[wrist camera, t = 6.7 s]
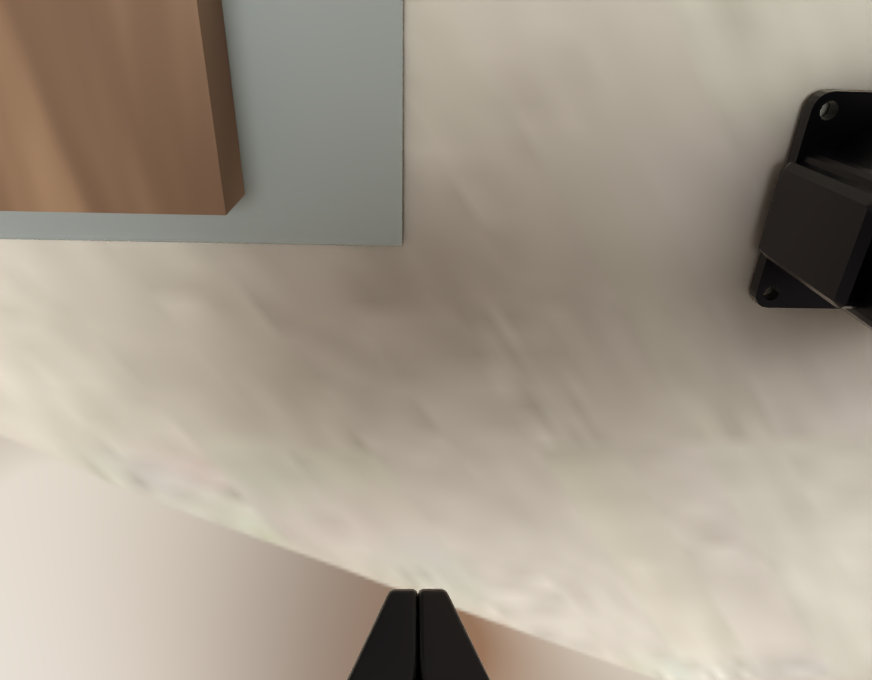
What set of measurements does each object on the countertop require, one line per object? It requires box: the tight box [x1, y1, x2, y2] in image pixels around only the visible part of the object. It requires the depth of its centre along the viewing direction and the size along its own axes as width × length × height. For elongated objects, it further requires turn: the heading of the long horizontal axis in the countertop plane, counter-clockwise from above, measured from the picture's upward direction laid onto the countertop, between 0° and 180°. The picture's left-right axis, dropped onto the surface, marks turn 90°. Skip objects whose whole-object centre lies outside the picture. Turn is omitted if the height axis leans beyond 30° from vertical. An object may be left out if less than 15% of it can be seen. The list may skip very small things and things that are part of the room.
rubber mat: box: [0, 0, 403, 246], centre depth 16 cm, size 15×9×1 cm, turn 88°
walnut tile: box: [0, 0, 245, 215], centre depth 15 cm, size 2×6×8 cm
